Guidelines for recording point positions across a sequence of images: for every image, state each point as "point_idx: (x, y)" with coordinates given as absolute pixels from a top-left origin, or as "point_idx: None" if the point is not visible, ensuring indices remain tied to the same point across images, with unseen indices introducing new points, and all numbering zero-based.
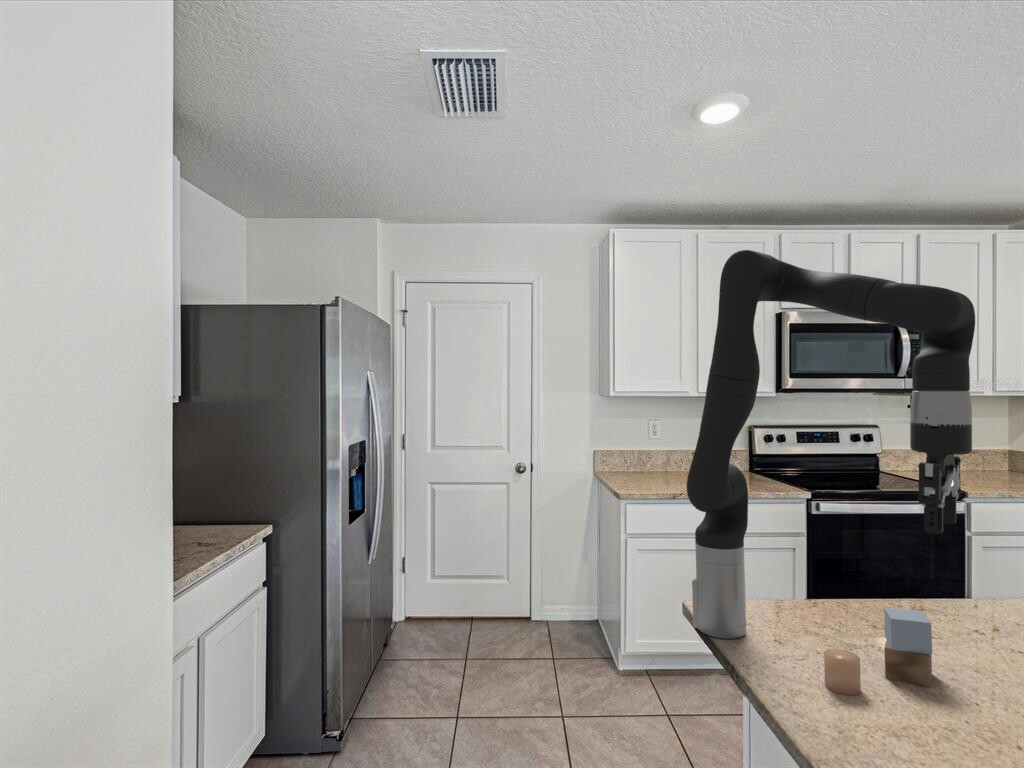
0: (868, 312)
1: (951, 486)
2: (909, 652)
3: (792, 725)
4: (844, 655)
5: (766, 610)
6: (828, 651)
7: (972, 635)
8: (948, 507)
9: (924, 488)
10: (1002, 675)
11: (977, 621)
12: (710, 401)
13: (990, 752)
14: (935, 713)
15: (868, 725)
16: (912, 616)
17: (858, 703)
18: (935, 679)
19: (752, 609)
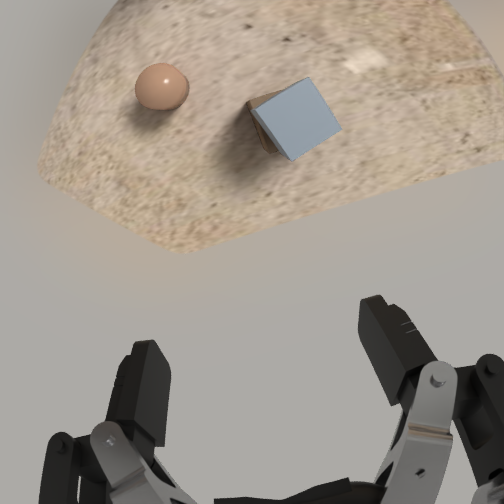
0: None
1: (379, 476)
2: (261, 130)
3: (54, 126)
4: (163, 87)
5: None
6: (156, 68)
7: (454, 134)
8: (385, 368)
9: (76, 496)
10: (371, 185)
11: (487, 131)
12: None
13: (171, 241)
14: (203, 179)
15: (113, 158)
16: (300, 128)
17: (148, 122)
18: None
19: None
